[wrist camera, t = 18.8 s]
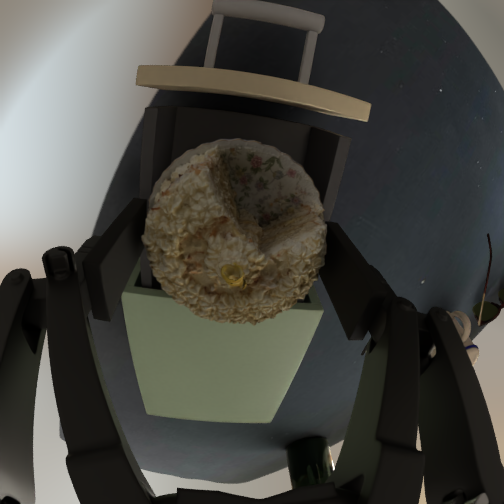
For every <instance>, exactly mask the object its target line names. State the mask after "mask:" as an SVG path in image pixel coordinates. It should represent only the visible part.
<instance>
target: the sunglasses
mask: <svg viewBox="0 0 504 504" xmlns="http://www.w3.org/2000/svg"><path fill="white" fill-rule="evenodd" d="M487 237H488V243H489V249H490V261H489V267H488V272H487V278H486V283H485V288H484V293H483V299H482V302H479V303H477V304H476V305H475V306H474V307H473V313H474V315H475V316H474V317H475V318H476V320H477V321H478V323H477V324H478V325H479V327H480V326H483V325H485V324H488V323H490V322H491V321H493V320H494V319H495V318H496V317H497V316H498V315H499V313H500V311H501V309H502V308H504V288H503V289H501V290H500V291H499V293H498V296H499V301H500V303H501V305H500V306H499V305H498V304H495V303H493V302H491V303H490V302H487V301H484V297H485V293H486V288H487V283H488V278H489V273H490V267H491V261H492V248H491V242H490V237H489V234H487Z"/></svg>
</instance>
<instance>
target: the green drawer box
mask: <svg viewBox="0 0 504 504" xmlns="http://www.w3.org/2000/svg"><path fill="white" fill-rule="evenodd" d="M121 297H122V304H123V311H124V317H125V323H126V329H127V334H128V339H129V344H130V349H131V354H132V359H133V363H134V367H135V372H136V376H137V380H138V384H139V388H140V391H141V395H142V399H143V402H144V406H145V409H146V413H147V414H150V415H157V416H164V417H171V418H179V419H189V420H199V421H213V422H234V423H270V422H271V421H272V419H273V417H274V415H275V413H276V411H277V409H278V408H279V406H280V404H281V402H282V400H283V398H284V396H285V394H286V392H287V390H288V388H289V386H290V384H291V382H292V380H293V378H294V376H295V374H296V372H297V370H298V367H299V365H300V363H301V361H302V359H303V357H304V355H305V352H306V350H307V348H308V346H309V344H310V341H311V339H312V337H313V335H314V332H315V330H316V328H317V325H318V323H319V321H320V318H321V316H322V314H323V311H324V310H323V308H322V305H321V303H320V300H319V298H318V295H317V293H316V290H315V288H314V285H312V287H311V288H310V289H309V293H308V294H307V295H306V296H305V299H304V302H303V303H296V304H295V305H293V306H292V307H291V308H290V309H289V311H283V310H282V313H279V314H277V315H276V317H274V319H273V318H272V319H270V318H269V319H266V320H264V321H263V322H260V323H258V322H257V324H256V325H255V326H253V325H252V324H251V323H250V322H246V323H245V324H241V323H240V324H239V322H237V323H236V324H233V323H232V322H231V323H228V322H225V323H223V324H222V323H219V322H216V321H215V320H212V321H210V320H209V319H204V318H203V319H201V317H198V316H196V315H195V314H193V313H192V312H191V311H190V310H189V308H187V307H185V306H184V305H178V304H177V303H175V301H174V300H173V299H172V296H171V295H168V294H167V293H166V292H165V291H164V290H157V289H149V288H142V283H141V266H140V257H139V259H138V261H137V264H136V266H135V268H134V270H133V272H132V274H131V276H130V278H129V280H128V282H127V285H126V287H125V289H124V291H123V293H122V296H121Z"/></svg>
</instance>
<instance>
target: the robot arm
mask: <svg viewBox="0 0 504 504" xmlns="http://www.w3.org/2000/svg"><path fill="white" fill-rule="evenodd" d="M146 218H147V199H140V198H133V200H132V201H131V202H130V203H129V204H128V205H127V206H126V208H125V209H124V210H123V211H122V212H121V213H120V215H119V216H118V217H117V218H116V219H115V220H114V222H113V223H112V224H111V225H110V226H109V228H108V229H107V230H106V231H105V233H104V234H103V235H102V236H93V237H91V238H89V239H87V240H86V241H85V242H84V243H83V245H82V246H81V247H80V248H79V249H78V251H77V252H76V253H75V254H74V251H73V249H71V248H70V247H65V246H59V247H55V248H52V249H50V250H48V251H46V252H45V253H44V254H43V257H42V261H43V265H44V270H45V273H46V278H40V279H32V278H31V274H30V272H29V271H28V270H27V269H22V268H21V269H15V270H12V271H11V272H10V273H8V274H7V275H6V276H5V278H4V279H3V281H2V283H1V285H0V504H35V484H34V468H33V424H34V408H35V407H34V406H35V397H36V388H37V380H38V373H39V366H40V360H41V355H42V349H43V344H44V339H45V334H46V330H47V336H48V348H49V358H50V366H51V374H52V380H53V387H54V393H55V398H56V403H57V408H58V413H59V417H60V422H61V426H62V430H63V434H64V437H65V441H66V444H67V448H68V455H67V457H66V465H67V469H68V473H69V475H70V478H71V481H72V484H73V487H74V489H75V492H76V494H77V497H78V499H79V501H80V504H418V503H419V498H420V493H421V488H422V482H423V475H424V486H425V497H426V502H427V504H504V467H503V465H502V463H501V459H500V454H499V450H498V445H497V441H496V437H495V433H494V429H493V425H492V422H491V418H490V414H489V411H488V408H487V405H486V401H485V399H484V396H483V393H482V390H481V387H480V384H479V381H478V378H477V376H476V373H475V370H474V368H473V365H472V363H471V360H470V358H469V356H468V353H467V351H466V348H465V346H464V344H463V342H462V339H461V337H460V335H459V333H458V331H457V329H456V326H455V324H454V322H453V320H452V318H451V317H450V315H449V314H448V313H447V312H446V311H445V310H443V309H442V308H439V307H432V308H431V309H430V310H429V312H428V314H423V313H419V312H417V309H416V307H415V306H414V304H413V303H411V302H410V301H409V300H407V299H405V298H402V297H397V296H396V294H395V293H394V291H393V290H392V289H391V287H390V286H389V284H388V283H387V282H386V280H385V279H384V278H383V276H382V275H381V273H380V272H379V271H378V270H377V269H376V268H374V267H373V266H372V265H369V264H368V263H367V261H366V260H365V259H364V257H363V256H362V255H361V253H360V252H359V251H358V249H357V248H356V247H355V245H354V244H353V243H352V241H351V240H350V239H349V237H348V236H347V235H346V234H345V232H344V231H343V230H342V228H341V227H340V226H339V225H338V223H334V222H328V221H325V224H327V233H326V244H327V250H326V252H327V253H326V255H325V261H324V262H325V265H324V266H322V267H321V268H320V269H319V275H320V277H321V279H322V281H323V284H324V286H325V288H326V290H327V292H328V295H329V297H330V299H331V301H332V303H333V306H334V308H335V310H336V313H337V315H338V317H339V319H340V322H341V324H342V326H343V329H344V331H345V333H346V336H347V338H348V340H363V339H364V337H365V335H366V333H367V332H368V330H369V332H370V334H371V338H370V340H369V342H368V343H367V345H366V347H365V348H364V350H363V351H362V353H361V355H364V353H365V352H366V355H365V360H364V365H363V370H362V374H361V379H360V383H359V388H358V392H357V396H356V400H355V404H354V408H353V411H352V415H351V419H350V422H349V426H348V429H347V433H346V436H345V439H344V442H343V446H342V449H341V452H340V455H339V457H338V460H337V463H336V466H335V468H334V470H333V472H332V474H331V475H330V476H329V478H328V479H327V480H326V482H325V483H322V484H316V485H310V486H303V487H298V488H295V489H292V490H289V491H287V492H284V493H281V494H278V495H274V496H271V497H268V498H264V499H255V498H249V497H244V496H239V495H234V494H229V493H225V492H221V491H210V490H195V489H184V488H177V493H173V494H167V495H162V496H158V497H156V496H155V494H154V492H153V490H152V489H151V487H150V485H149V483H148V482H147V480H146V478H145V477H144V475H143V473H142V472H141V469H140V467H139V465H138V463H137V461H136V459H135V457H134V455H133V453H132V451H131V449H130V446H129V444H128V442H127V440H126V437H125V435H124V432H123V430H122V428H121V425H120V423H119V420H118V417H117V415H116V412H115V410H114V407H113V404H112V401H111V398H110V395H109V392H108V389H107V386H106V383H105V380H104V377H103V374H102V370H101V367H100V363H99V360H98V356H97V352H96V349H95V345H94V341H93V336H92V332H91V328H90V323H89V319H88V314H89V312H90V310H91V309H92V313H93V317H94V319H98V320H103V321H109V322H110V321H111V319H112V316H113V314H114V312H115V309H116V307H117V305H118V302H119V300H120V298H121V296H122V293H123V291H124V289H125V287H126V285H127V282H128V280H129V278H130V276H131V274H132V272H133V270H134V268H135V266H136V264H137V261H138V259H139V257H140V255H141V253H142V251H143V249H144V247H145V246H144V244H143V242H142V240H141V239H142V238H141V237H142V235H144V231H145V224H146V221H145V220H146ZM435 348H436V354H435V356H434V357H433V358H432V357H431V353H432V351H433V350H434V349H435ZM418 426H419V433H420V440H421V450H422V451H418V450H417V449H416V440H417V430H418Z"/></svg>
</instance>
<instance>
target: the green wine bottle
mask: <svg viewBox="0 0 504 504" xmlns="http://www.w3.org/2000/svg"><path fill="white" fill-rule="evenodd" d="M286 456H287V463H288V469H289V474H290V479H291V485H292V489H295V488H298V487H303V486H310V485H316V484H322V483H325V482H326V480H327V479H328V478H329V476H330V475H331V474H332V472H333V470H334V466H333V461H332V457H331V452H330V448H329V444H328V441H327V440H326V439H325V438H322V437H312V438H306V439H302V440H298V441H295V442H293V443H291V444H290V445H288V446H287V448H286Z"/></svg>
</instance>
